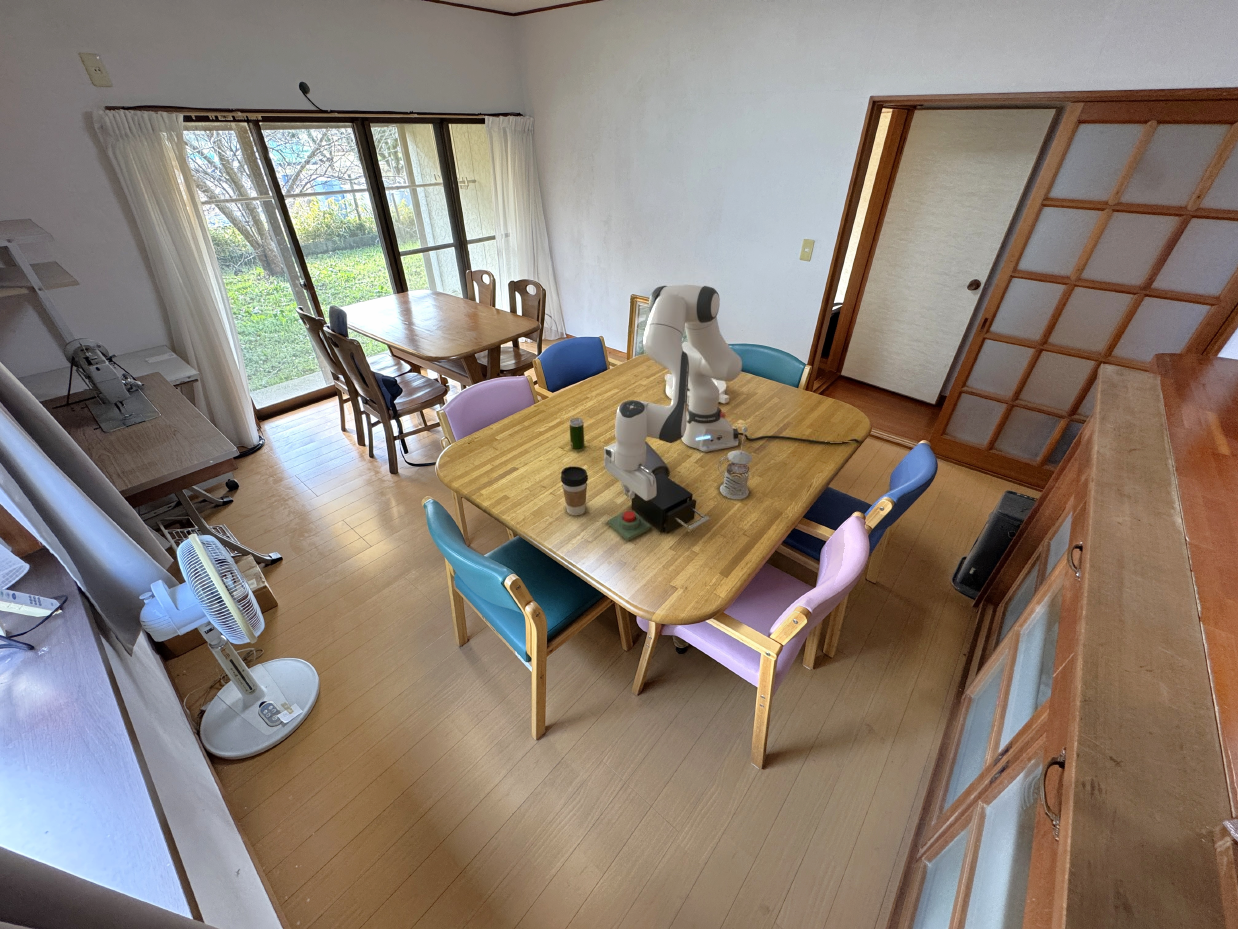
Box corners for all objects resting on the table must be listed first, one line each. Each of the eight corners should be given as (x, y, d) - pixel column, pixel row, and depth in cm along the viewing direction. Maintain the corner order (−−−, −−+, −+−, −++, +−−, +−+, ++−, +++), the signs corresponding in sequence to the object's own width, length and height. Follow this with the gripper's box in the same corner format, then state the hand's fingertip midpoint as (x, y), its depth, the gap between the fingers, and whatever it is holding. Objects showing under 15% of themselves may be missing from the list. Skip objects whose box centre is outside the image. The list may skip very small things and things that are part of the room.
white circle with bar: (729, 406, 219) (730, 396, 216) (667, 405, 219) (668, 395, 217) (719, 380, 242) (720, 371, 240) (663, 379, 242) (664, 371, 240)
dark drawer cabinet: (690, 516, 154) (693, 494, 149) (661, 532, 148) (662, 509, 143) (660, 494, 164) (661, 472, 159) (631, 508, 158) (631, 486, 152)
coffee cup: (563, 502, 160) (560, 464, 152) (588, 501, 161) (587, 463, 152) (562, 518, 153) (560, 480, 145) (589, 517, 154) (588, 479, 145)
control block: (650, 529, 149) (650, 520, 147) (627, 541, 145) (628, 532, 143) (630, 512, 156) (630, 504, 154) (607, 523, 151) (607, 515, 149)
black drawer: (711, 531, 147) (714, 512, 143) (684, 547, 142) (686, 528, 138) (665, 497, 161) (666, 480, 157) (639, 511, 155) (639, 493, 151)
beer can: (575, 452, 185) (573, 425, 179) (568, 446, 189) (566, 419, 182) (587, 448, 188) (586, 421, 181) (580, 442, 192) (579, 416, 185)
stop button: (637, 519, 148) (637, 515, 147) (628, 524, 147) (628, 519, 146) (630, 513, 151) (630, 509, 150) (621, 518, 149) (621, 513, 148)
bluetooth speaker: (620, 458, 183) (620, 435, 177) (642, 452, 186) (643, 430, 180) (646, 491, 165) (647, 467, 160) (670, 485, 168) (672, 461, 163)
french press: (742, 502, 161) (755, 438, 147) (710, 491, 166) (719, 428, 152) (752, 487, 167) (765, 425, 153) (721, 477, 173) (730, 415, 159)
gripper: (663, 469, 131) (660, 509, 138) (617, 439, 144) (616, 477, 152) (645, 477, 127) (643, 518, 135) (600, 445, 141) (600, 484, 149)
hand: (629, 496), depth 144 cm, fingers closed
